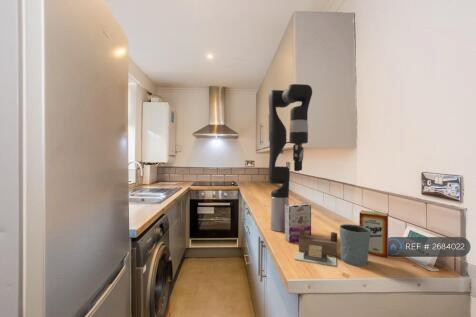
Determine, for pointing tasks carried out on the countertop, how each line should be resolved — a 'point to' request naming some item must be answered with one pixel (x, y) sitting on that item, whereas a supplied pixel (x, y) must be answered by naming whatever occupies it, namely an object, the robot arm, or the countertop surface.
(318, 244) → the body
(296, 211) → the candy bar box
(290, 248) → the countertop surface
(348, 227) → the teal cup
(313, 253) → the lever cap
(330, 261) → the mat
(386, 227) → the baking soda box
